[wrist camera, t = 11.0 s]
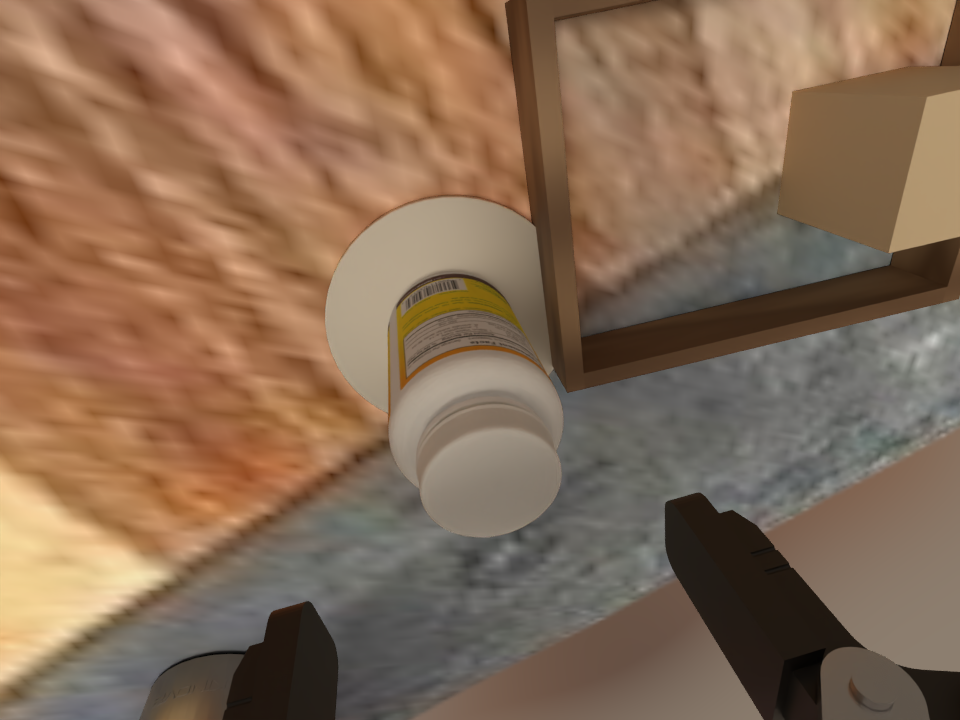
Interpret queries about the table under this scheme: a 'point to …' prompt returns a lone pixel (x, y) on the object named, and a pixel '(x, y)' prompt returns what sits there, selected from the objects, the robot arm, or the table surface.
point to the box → (877, 158)
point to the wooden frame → (703, 332)
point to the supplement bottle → (471, 407)
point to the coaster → (417, 255)
